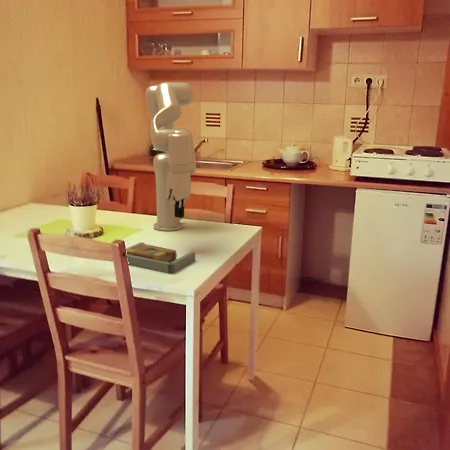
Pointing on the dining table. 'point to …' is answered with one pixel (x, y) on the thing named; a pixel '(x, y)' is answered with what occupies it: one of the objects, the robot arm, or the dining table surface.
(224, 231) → the dining table surface
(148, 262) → the tray
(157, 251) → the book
